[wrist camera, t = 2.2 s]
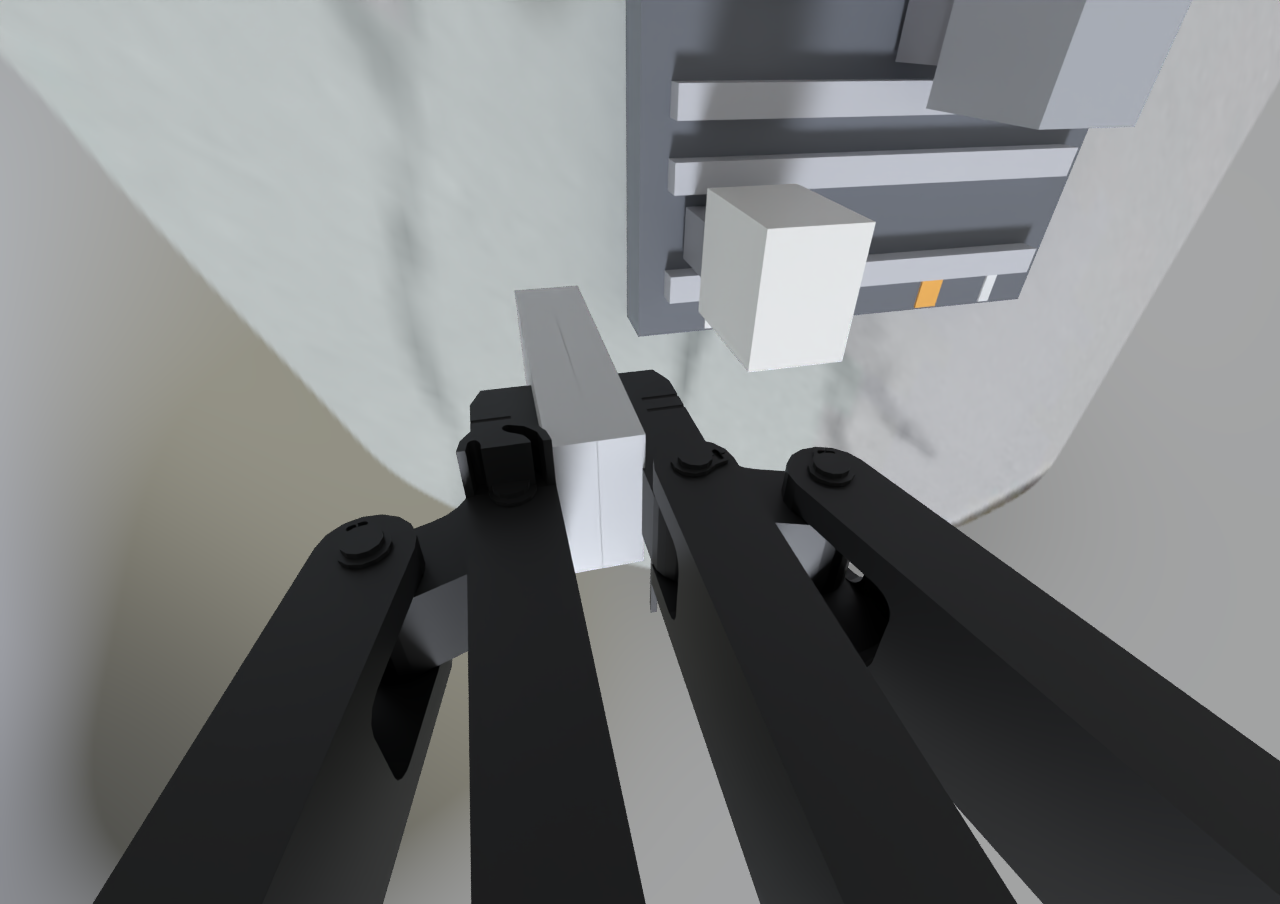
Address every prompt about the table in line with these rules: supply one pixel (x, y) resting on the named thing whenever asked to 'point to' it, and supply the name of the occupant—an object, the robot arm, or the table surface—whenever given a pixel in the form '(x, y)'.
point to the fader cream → (777, 272)
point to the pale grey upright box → (1042, 57)
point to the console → (823, 151)
